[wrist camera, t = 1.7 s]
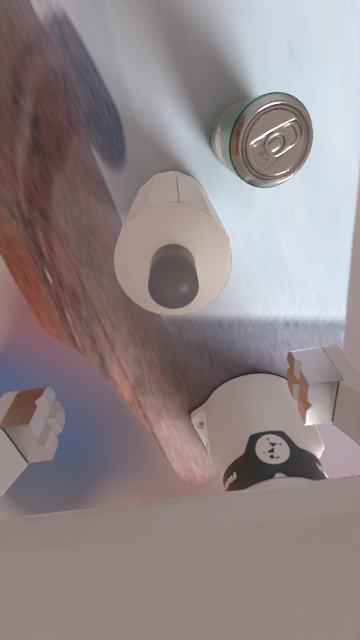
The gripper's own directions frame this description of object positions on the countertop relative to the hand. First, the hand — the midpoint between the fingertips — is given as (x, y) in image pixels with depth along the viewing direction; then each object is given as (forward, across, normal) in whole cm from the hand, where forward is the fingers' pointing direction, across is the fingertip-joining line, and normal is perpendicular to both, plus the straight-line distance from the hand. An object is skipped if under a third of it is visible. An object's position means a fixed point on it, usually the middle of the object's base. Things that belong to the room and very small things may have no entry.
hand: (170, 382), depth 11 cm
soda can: (+25, -7, -5) cm, 26 cm away
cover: (+25, 0, 0) cm, 25 cm away
